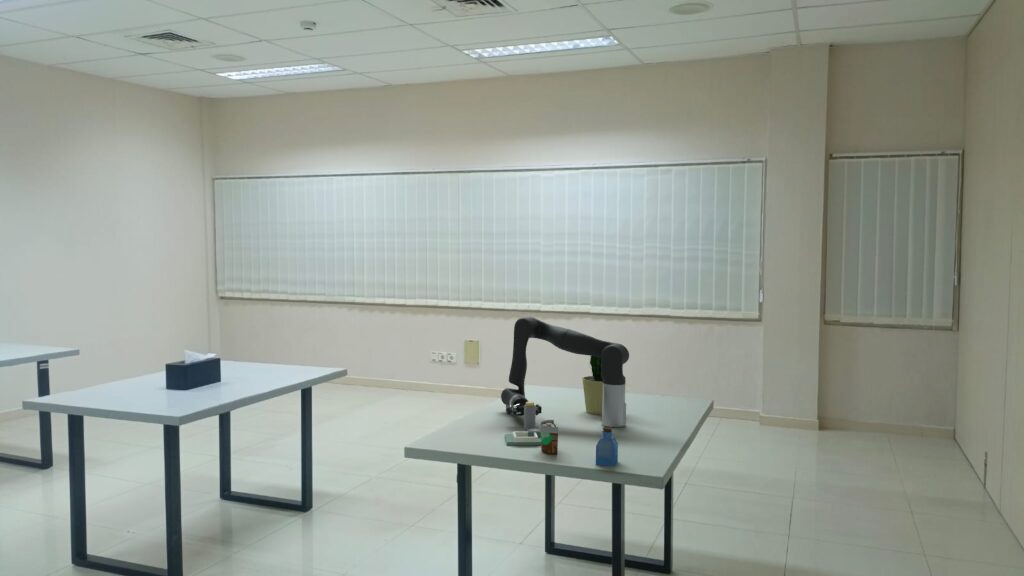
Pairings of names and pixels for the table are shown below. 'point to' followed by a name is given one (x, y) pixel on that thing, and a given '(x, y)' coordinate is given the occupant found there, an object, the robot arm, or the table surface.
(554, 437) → the food container
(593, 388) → the potted cactus
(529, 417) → the plug
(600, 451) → the perfume bottle
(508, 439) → the board
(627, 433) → the table surface
